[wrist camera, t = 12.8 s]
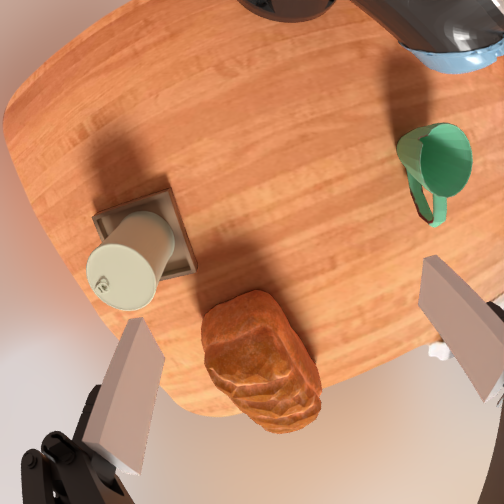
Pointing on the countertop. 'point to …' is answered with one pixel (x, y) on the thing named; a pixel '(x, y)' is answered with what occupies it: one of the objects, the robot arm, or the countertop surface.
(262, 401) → the bread
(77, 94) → the countertop surface
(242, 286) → the countertop surface
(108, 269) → the can
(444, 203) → the mug
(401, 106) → the countertop surface
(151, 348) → the robot arm
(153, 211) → the tray
